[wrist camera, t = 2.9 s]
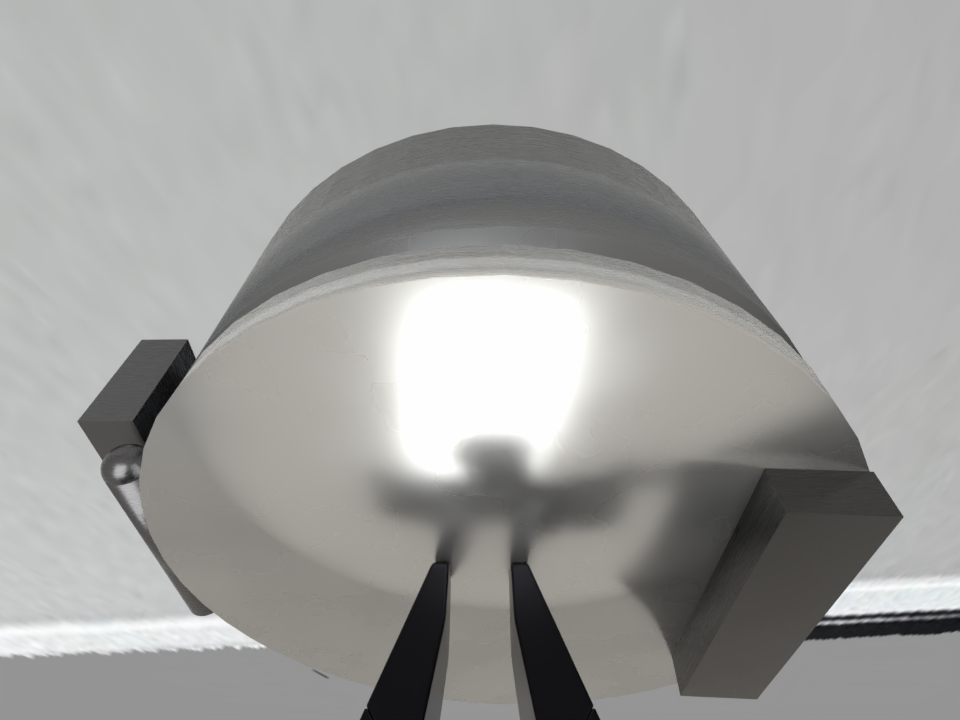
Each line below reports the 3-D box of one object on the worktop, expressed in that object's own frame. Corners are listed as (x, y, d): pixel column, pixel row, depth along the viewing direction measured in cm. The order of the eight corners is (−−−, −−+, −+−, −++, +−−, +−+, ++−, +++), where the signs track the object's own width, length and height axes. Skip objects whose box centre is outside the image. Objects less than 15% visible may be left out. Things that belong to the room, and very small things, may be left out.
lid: (1022, 254, 8) (1137, 329, 7) (728, 681, 18) (748, 751, 17) (-12, 234, 9) (-121, 299, 7) (246, 660, 19) (223, 726, 17)
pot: (805, 123, 14) (974, 224, 9) (669, 506, 24) (718, 648, 19) (128, 125, 14) (-47, 229, 9) (276, 511, 24) (228, 655, 19)
